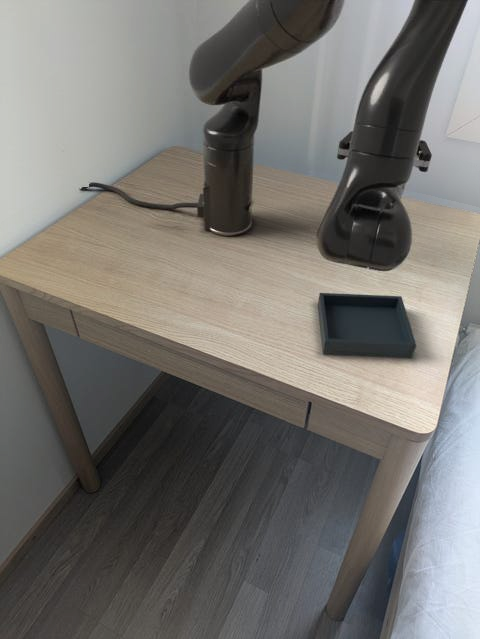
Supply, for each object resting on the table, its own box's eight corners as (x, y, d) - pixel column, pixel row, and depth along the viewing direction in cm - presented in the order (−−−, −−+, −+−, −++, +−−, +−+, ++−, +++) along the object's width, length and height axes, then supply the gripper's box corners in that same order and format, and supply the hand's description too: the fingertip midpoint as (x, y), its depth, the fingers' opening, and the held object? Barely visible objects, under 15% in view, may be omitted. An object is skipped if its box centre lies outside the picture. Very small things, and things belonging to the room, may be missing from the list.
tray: (322, 354, 73) (325, 341, 71) (317, 305, 81) (319, 292, 80) (411, 358, 73) (416, 345, 71) (397, 309, 81) (401, 296, 79)
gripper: (439, 158, 65) (440, 115, 77) (330, 143, 68) (348, 104, 80) (423, 209, 70) (427, 161, 82) (323, 193, 73) (341, 149, 85)
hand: (388, 133), depth 81 cm, fingers closed on hair serum, 5 cm apart
